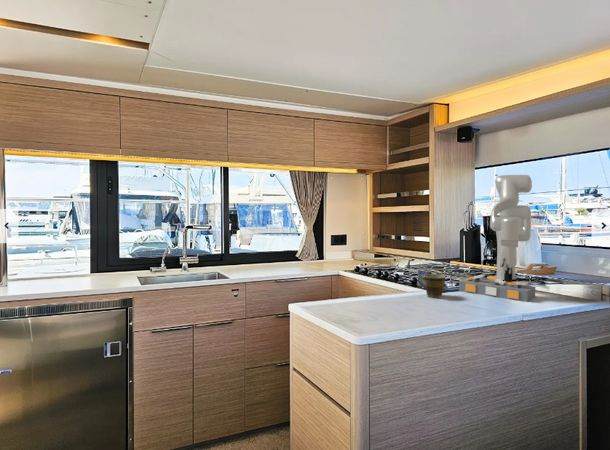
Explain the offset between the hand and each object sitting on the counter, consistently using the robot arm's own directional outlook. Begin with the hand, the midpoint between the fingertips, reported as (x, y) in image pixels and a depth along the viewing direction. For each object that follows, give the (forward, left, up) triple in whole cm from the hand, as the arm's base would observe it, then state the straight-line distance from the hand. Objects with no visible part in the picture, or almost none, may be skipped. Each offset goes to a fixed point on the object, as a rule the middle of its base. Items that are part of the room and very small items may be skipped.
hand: (508, 281), depth 203 cm
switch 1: (0, -16, -1) cm, 16 cm away
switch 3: (0, +4, -1) cm, 4 cm away
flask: (+10, -39, -7) cm, 41 cm away
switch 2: (0, -6, -1) cm, 6 cm away
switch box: (0, -6, -7) cm, 9 cm away
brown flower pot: (+26, -27, -7) cm, 38 cm away
